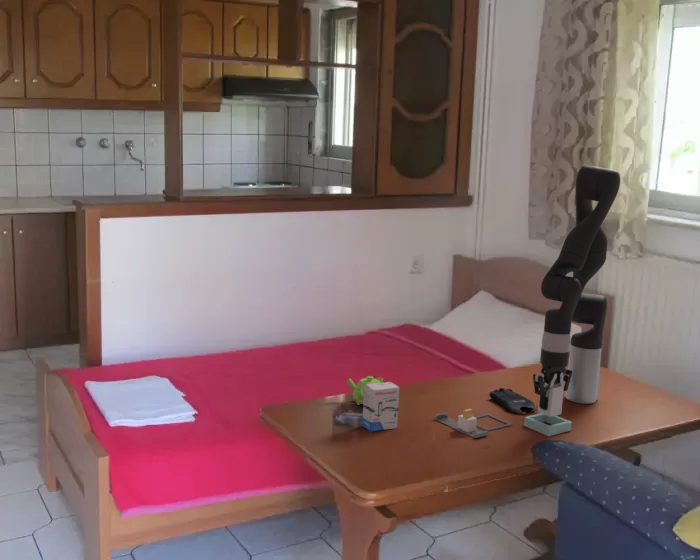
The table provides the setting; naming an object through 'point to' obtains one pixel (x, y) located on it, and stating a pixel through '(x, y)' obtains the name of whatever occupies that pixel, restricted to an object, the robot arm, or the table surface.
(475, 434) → the latch rail
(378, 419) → the ink box
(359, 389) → the teapot
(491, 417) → the grey square frame
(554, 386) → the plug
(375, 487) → the table surface
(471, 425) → the latch tab
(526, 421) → the teal square tray
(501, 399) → the electronic device
